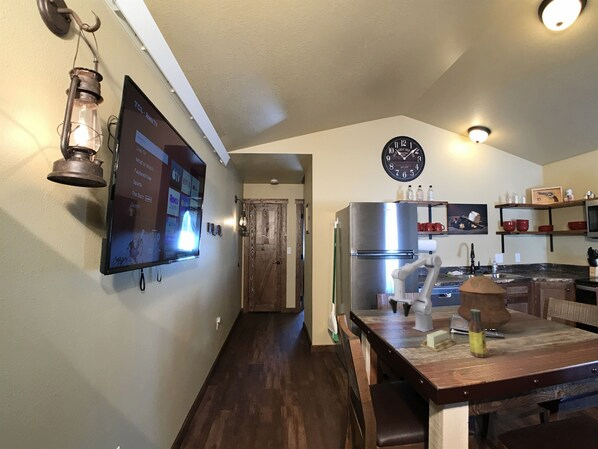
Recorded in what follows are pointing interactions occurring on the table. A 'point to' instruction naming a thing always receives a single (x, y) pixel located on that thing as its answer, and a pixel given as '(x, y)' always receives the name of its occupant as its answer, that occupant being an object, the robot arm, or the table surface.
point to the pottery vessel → (484, 302)
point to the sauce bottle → (477, 335)
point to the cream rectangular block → (436, 337)
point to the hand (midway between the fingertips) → (400, 314)
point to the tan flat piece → (439, 345)
